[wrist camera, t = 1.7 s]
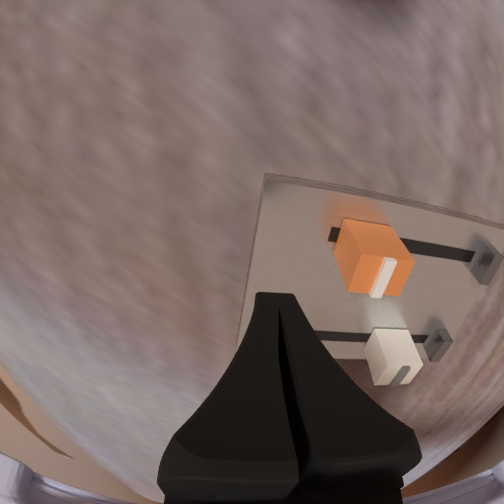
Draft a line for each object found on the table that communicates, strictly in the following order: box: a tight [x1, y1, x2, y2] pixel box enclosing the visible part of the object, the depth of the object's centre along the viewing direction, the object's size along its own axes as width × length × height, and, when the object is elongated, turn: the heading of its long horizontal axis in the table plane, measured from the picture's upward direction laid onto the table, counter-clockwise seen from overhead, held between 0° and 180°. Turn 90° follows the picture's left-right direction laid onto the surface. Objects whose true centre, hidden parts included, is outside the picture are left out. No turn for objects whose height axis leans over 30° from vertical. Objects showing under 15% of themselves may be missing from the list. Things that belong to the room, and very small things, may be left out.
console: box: [236, 173, 504, 362], centre depth 20 cm, size 18×13×3 cm
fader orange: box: [333, 219, 415, 298], centre depth 16 cm, size 3×2×4 cm
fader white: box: [364, 329, 423, 388], centre depth 21 cm, size 3×2×4 cm
